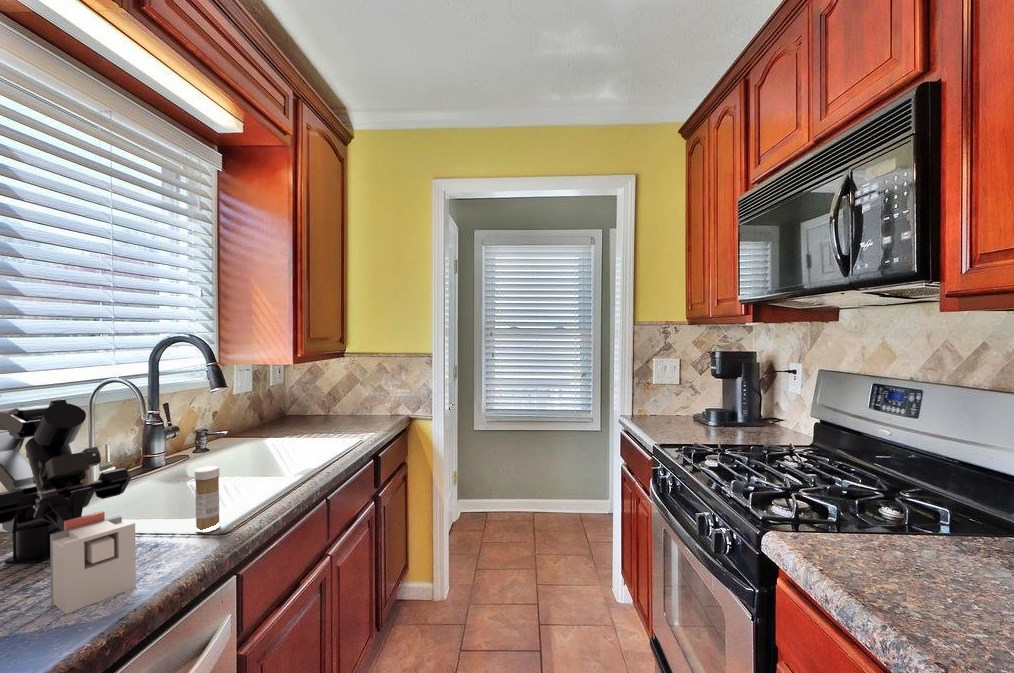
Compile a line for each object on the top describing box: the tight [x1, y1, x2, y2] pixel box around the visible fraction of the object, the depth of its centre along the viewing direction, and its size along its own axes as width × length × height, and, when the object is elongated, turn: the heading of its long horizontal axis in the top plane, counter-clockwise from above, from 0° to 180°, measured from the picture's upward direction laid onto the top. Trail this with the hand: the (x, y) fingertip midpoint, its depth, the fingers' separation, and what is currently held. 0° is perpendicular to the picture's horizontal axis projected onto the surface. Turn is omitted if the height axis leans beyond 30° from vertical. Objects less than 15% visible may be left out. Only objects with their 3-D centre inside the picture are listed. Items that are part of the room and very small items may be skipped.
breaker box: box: [50, 515, 137, 615], centre depth 78 cm, size 6×9×11 cm
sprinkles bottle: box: [194, 465, 220, 530], centre depth 103 cm, size 5×5×14 cm
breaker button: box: [64, 510, 114, 563], centre depth 78 cm, size 8×5×6 cm, turn 59°
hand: (75, 536), depth 82 cm, fingers closed
